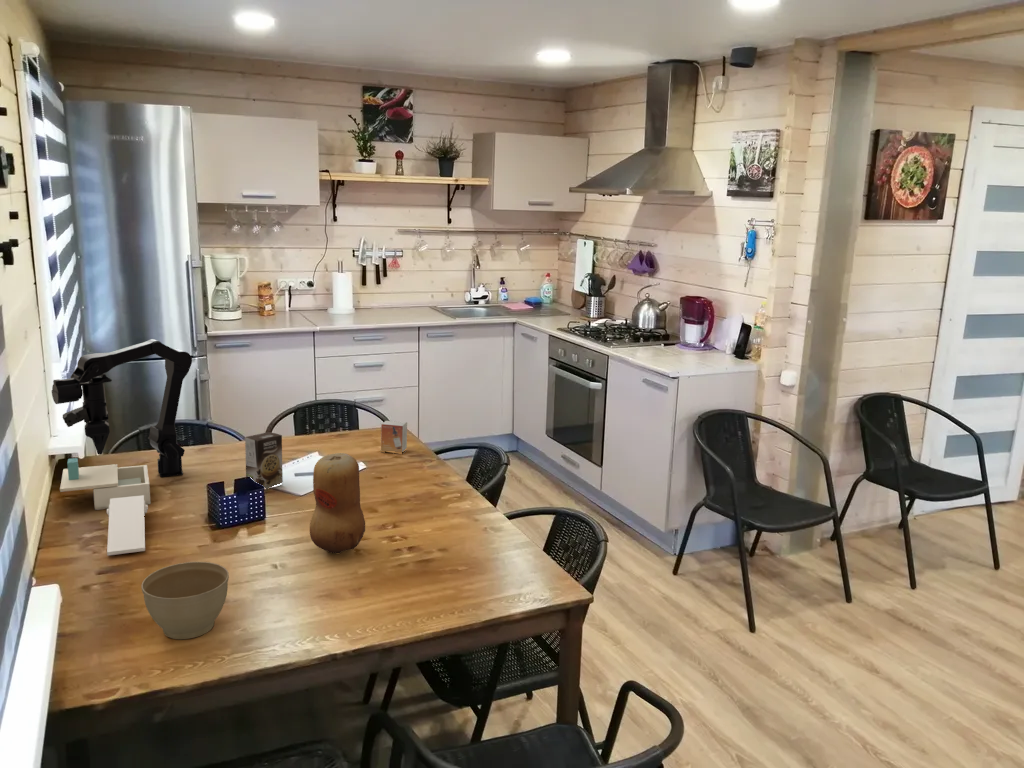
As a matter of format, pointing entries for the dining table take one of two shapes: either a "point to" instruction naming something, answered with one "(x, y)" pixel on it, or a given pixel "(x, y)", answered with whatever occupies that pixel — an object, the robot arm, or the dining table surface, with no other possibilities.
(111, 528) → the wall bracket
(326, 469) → the butternut squash
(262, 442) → the coffee box
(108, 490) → the carton
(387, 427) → the small box
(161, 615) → the planter bowl
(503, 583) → the dining table surface
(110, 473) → the cover panel
